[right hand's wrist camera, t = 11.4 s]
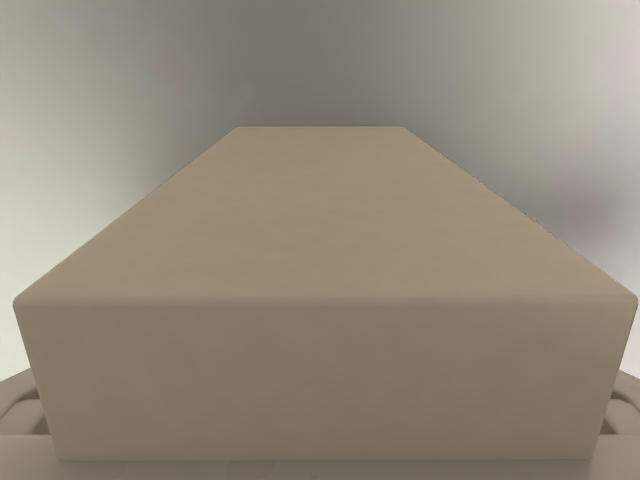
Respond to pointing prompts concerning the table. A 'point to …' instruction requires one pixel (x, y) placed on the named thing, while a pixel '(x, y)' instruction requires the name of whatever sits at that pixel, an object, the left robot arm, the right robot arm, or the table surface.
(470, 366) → the box
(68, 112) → the table surface
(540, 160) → the table surface
